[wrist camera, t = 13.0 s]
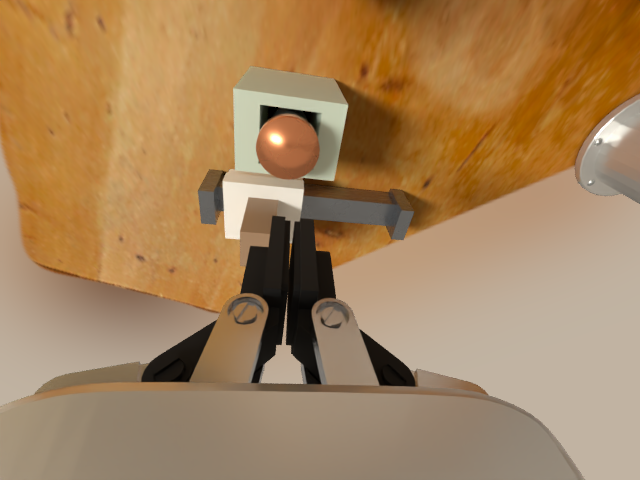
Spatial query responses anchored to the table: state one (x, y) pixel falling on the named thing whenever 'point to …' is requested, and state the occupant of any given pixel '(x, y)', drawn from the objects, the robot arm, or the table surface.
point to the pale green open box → (291, 93)
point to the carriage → (258, 206)
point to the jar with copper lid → (288, 145)
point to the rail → (326, 205)
